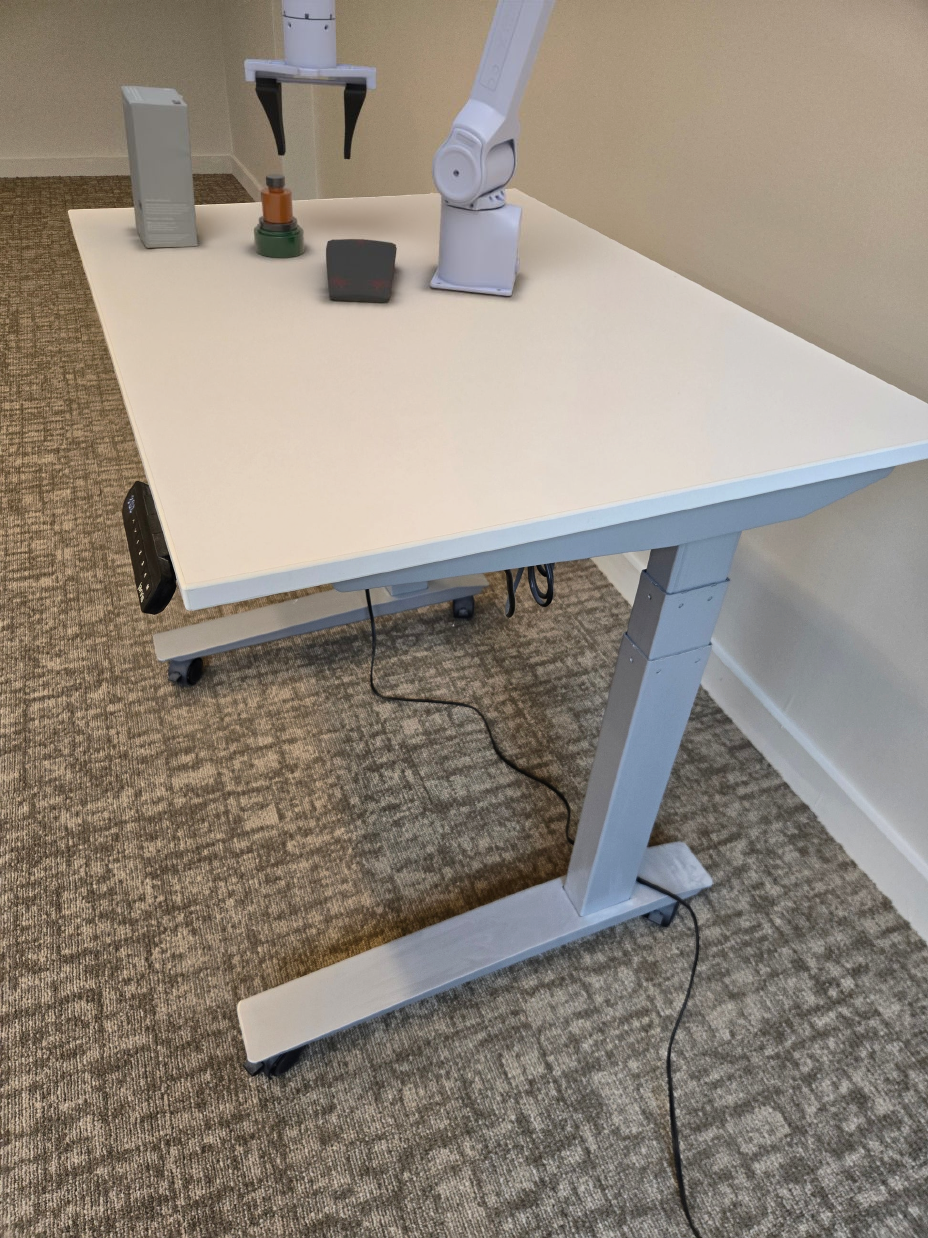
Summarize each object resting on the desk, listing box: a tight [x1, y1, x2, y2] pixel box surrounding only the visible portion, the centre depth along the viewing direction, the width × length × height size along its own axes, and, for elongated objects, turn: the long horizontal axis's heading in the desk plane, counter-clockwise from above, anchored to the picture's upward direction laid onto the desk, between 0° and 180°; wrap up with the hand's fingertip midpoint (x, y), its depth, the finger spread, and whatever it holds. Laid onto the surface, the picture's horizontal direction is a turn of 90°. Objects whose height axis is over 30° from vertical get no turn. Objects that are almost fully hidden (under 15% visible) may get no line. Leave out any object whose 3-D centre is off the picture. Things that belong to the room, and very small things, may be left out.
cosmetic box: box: [120, 85, 199, 249], centre depth 103 cm, size 8×7×16 cm
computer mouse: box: [325, 238, 398, 303], centre depth 99 cm, size 8×14×4 cm, turn 3°
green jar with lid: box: [253, 215, 306, 259], centre depth 106 cm, size 6×6×4 cm
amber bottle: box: [260, 173, 294, 224], centre depth 104 cm, size 4×4×5 cm
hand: (314, 155), depth 103 cm, fingers open, 7 cm apart
